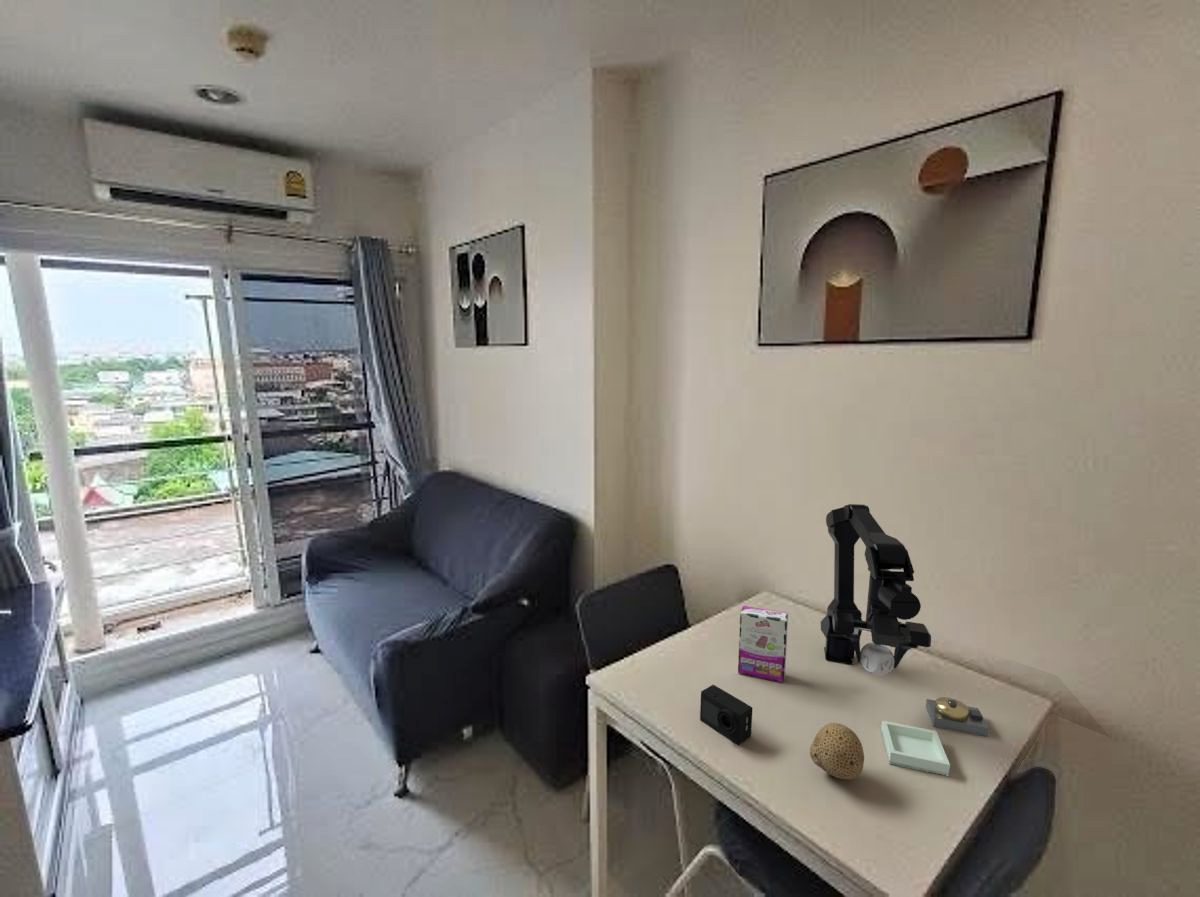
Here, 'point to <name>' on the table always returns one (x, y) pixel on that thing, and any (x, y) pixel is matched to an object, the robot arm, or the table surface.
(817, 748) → the natural sponge
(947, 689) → the table surface
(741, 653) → the candy bar box
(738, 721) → the digital camera
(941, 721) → the call bell
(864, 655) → the die
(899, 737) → the tray
